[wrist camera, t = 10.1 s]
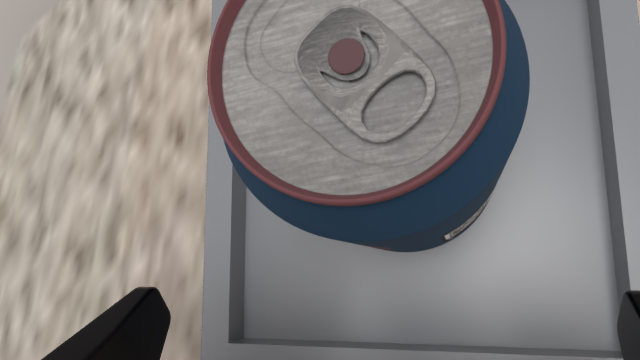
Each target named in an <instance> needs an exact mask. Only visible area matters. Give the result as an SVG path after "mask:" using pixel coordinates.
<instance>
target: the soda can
mask: <svg viewBox="0 0 640 360" xmlns="http://www.w3.org/2000/svg"><path fill="white" fill-rule="evenodd" d="M207 81H208V94H209V100H210V105H211V110H212V114H213V116H214V119H215V122H216V125H217V127H218V129H219V131H220V133H221V135H222V137H223V140H224V144H225V147H226V150H227V153H228V155H229V158H230V160H231V162H232V164H233V166H234V168H235V170H236V171H237V173H238V175H239V176H240V178H241V179H242V181H243V182H244V184H245V185H246V186H247V188H248V189H249V190H250V191H251V193H252V194H253V195H254V196H255V197H256V198H257V199H258V200H259V201H260V202H261V203H262V204H263V205H264V206H265V207H266V208H267V209H269V210H270V211H271V212H273V213H274V214H275V215H276V216H278V217H280V218H281V219H283V220H284V221H286V222H287V223H289V224H291V225H293V226H295V227H297V228H299V229H301V230H304V231H306V232H308V233H311V234H314V235H317V236H320V237H324V238H328V239H333V240H338V241H343V242H348V243H353V244H358V245H363V246H367V247H372V248H377V249H382V250H387V251H393V252H418V251H424V250H428V249H432V248H435V247H438V246H440V245H443V244H445V243H447V242H449V241H451V240H453V239H454V238H456V237H457V236H459V235H460V234H462V233H463V232H464V231H465V230H467V229H468V228H469V227H470V226H471V225H472V224H473V223H474V222H475V221H476V219H477V218H478V217H479V216H480V214H481V213H482V212H483V210H484V208H485V207H486V205H487V203H488V201H489V199H490V197H491V195H492V193H493V191H494V189H495V186H496V184H497V182H498V180H499V178H500V176H501V174H502V172H503V169H504V167H505V165H506V163H507V161H508V159H509V157H510V155H511V152H512V150H513V148H514V146H515V144H516V142H517V139H518V137H519V134H520V132H521V129H522V126H523V122H524V119H525V115H526V111H527V106H528V99H529V89H530V72H529V61H528V54H527V50H526V45H525V41H524V38H523V35H522V32H521V29H520V27H519V25H518V22H517V20H516V18H515V16H514V14H513V12H512V11H511V9H510V7H509V5H508V4H507V2H506V1H505V0H227V2H226V4H225V6H224V8H223V10H222V12H221V14H220V17H219V19H218V21H217V24H216V27H215V30H214V33H213V37H212V41H211V45H210V50H209V58H208V70H207Z"/></svg>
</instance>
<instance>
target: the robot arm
mask: <svg viewBox="0 0 640 360" xmlns="http://www.w3.org/2000/svg"><path fill="white" fill-rule="evenodd" d="M170 320H171V316H170V311H169V309H168V307H167V305H166V303H165V301H164V300H163V298H162V296H161V294H160V292H159V290H158V289H157V288H155V287H138V288H135V289H134V290H133V291H131V292H130V293H129V294H127V295H126V296H125V297H123V298H122V299H121V300H119V301H118V302H117V303H115V304H114V305H113V306H111V307H110V308H109V309H107V310H106V311H105V312H103V313H102V314H101V315H100V316H98V317H97V318H96V319H94V320H93V321H92V322H90V323H89V324H88V325H86V326H85V327H84V328H82V329H81V330H80V331H78V332H77V333H76V334H74V335H73V336H72V337H71V338H69V339H68V340H67V341H65V342H64V343H63V344H61V345H60V346H59V347H57V348H56V349H55V350H53V351H52V352H51V353H49V354H48V355H47V356H45V357H44V358H43V359H41V360H160V357H161V353H162V350H163V346H164V343H165V339H166V336H167V332H168V329H169V325H170ZM617 333H618V338H619V342H620V347H621V351H622V355H623V360H640V290H629V291H626V292H625V293H624V294H623V297H622V301H621V306H620V311H619V316H618V320H617Z"/></svg>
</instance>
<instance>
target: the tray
mask: <svg viewBox="0 0 640 360" xmlns="http://www.w3.org/2000/svg"><path fill="white" fill-rule="evenodd" d="M505 1H506V2H507V4H508V5H509V7H510V9H511V11H512V12H513V14H514V16H515V18H516V20H517V22H518V25H519V27H520V29H521V32H522V35H523V38H524V41H525V45H526V50H527V54H528V61H529V72H530V89H529V99H528V106H527V111H526V115H525V119H524V122H523V126H522V129H521V132H520V134H519V137H518V139H517V142H516V144H515V146H514V148H513V150H512V152H511V155H510V157H509V159H508V161H507V163H506V165H505V167H504V169H503V172H502V174H501V176H500V178H499V180H498V182H497V184H496V186H495V189H494V191H493V193H492V195H491V197H490V199H489V201H488V203H487V205H486V207H485V208H484V210H483V212H482V213H481V214H480V216H479V217H478V218H477V219H476V221H475V222H474V223H473V224H472V225H471V226H470V227H469V228H468V229H467V230H465V231H464V232H463V233H462V234H460V235H459V236H457V237H456V238H454V239H453V240H451V241H449V242H447V243H445V244H443V245H440V246H438V247H435V248H432V249H428V250H424V251H418V252H393V251H387V250H382V249H377V248H372V247H367V246H363V245H358V244H353V243H348V242H343V241H338V240H333V239H328V238H324V237H320V236H317V235H314V234H311V233H308V232H306V231H304V230H301V229H299V228H297V227H295V226H293V225H291V224H289V223H287V222H286V221H284V220H283V219H281V218H280V217H278V216H276V215H275V214H274V213H273V212H271V211H270V210H269V209H267V208H266V207H265V206H264V205H263V204H262V203H261V202H260V201H259V200H258V199H257V198H256V197H255V196H254V195H253V194H252V193H251V191H250V190H249V189H248V188H247V186H246V185H245V184H244V182H243V181H242V179H241V178H240V176H239V175H238V173H237V171H236V170H235V168H234V166H233V164H232V162H231V160H230V158H229V155H228V153H227V150H226V147H225V144H224V140H223V137H222V135H221V133H220V131H219V129H218V127H217V125H216V122H215V119H214V116H213V114H212V110H211V105H210V100H209V120H208V152H207V183H206V214H205V245H204V276H203V307H202V338H201V360H623V355H622V351H621V347H620V342H619V338H618V333H617V320H618V316H619V311H620V306H621V301H622V297H623V294H624V293H625V292H626V291H629V290H640V25H639V17H638V8H637V0H505ZM226 2H227V0H212V27H211V41H212V37H213V33H214V30H215V27H216V24H217V21H218V19H219V17H220V14H221V12H222V10H223V8H224V6H225V4H226Z"/></svg>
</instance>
